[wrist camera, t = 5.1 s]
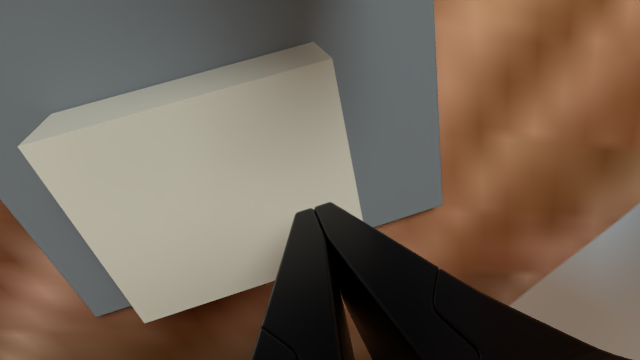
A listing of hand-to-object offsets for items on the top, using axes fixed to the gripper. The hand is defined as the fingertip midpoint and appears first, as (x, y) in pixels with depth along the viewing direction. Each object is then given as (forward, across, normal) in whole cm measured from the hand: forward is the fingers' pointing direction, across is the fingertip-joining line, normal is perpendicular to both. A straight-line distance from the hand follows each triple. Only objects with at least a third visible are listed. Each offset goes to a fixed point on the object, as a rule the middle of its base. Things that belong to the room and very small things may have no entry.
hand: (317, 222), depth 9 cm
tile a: (+3, -1, 0) cm, 3 cm away
